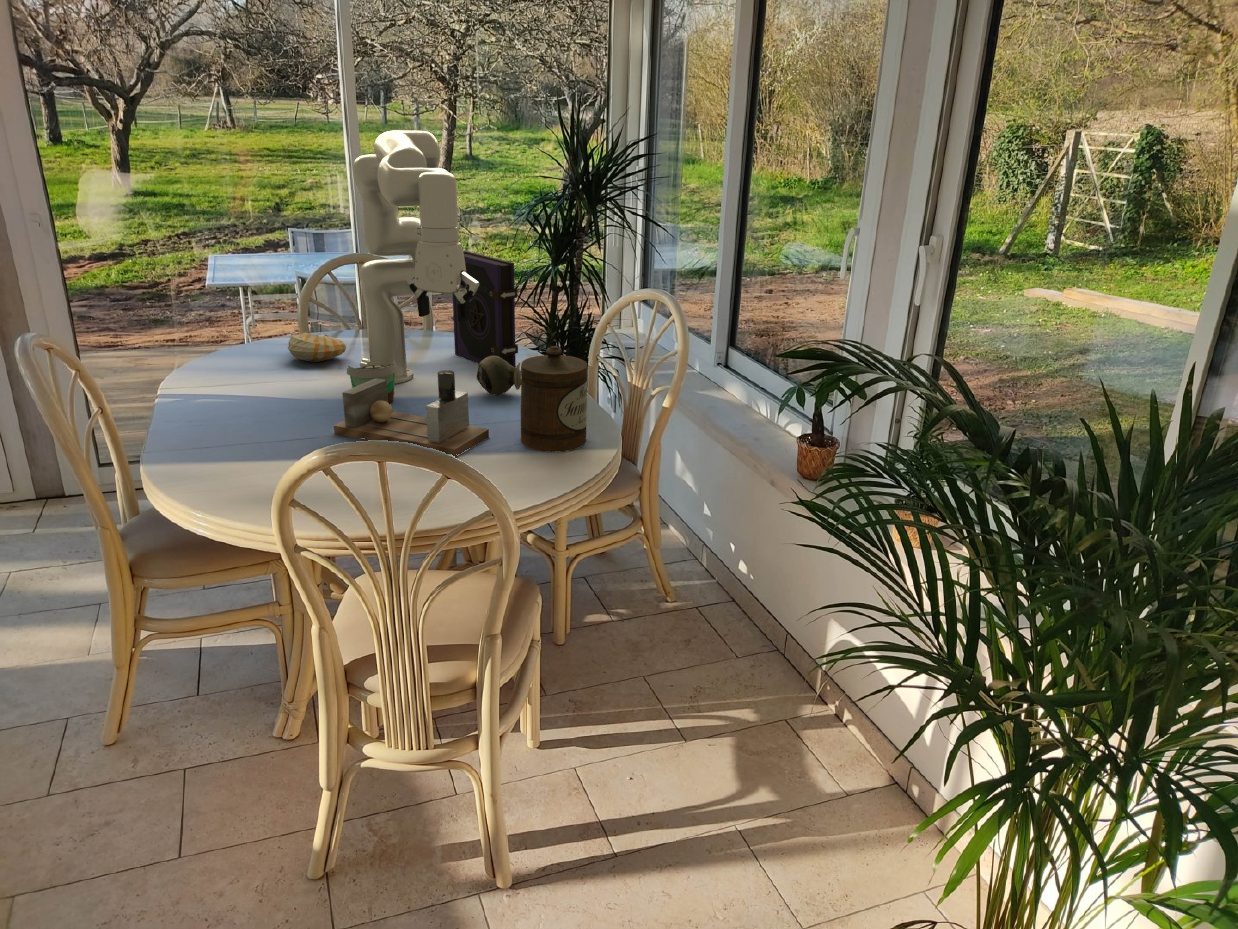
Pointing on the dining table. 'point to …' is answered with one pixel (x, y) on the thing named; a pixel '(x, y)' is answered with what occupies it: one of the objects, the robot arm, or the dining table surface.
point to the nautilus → (315, 347)
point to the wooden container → (553, 402)
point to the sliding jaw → (447, 410)
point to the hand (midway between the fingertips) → (443, 318)
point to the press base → (396, 422)
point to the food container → (374, 376)
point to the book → (488, 311)
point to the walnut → (381, 411)
